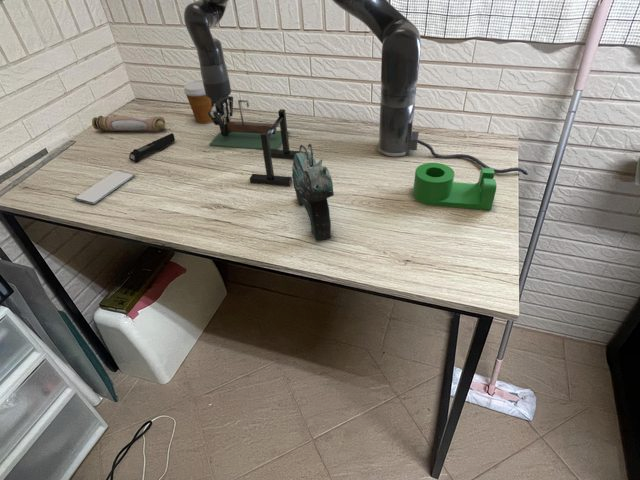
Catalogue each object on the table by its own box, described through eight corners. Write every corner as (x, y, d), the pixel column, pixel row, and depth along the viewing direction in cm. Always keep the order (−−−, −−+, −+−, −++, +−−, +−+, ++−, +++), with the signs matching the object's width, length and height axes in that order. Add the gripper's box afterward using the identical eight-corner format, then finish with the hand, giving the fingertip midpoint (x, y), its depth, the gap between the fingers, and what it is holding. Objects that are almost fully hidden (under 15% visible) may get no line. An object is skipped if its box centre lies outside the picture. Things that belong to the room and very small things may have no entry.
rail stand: (270, 153, 126) (264, 107, 117) (306, 156, 123) (302, 109, 114) (250, 183, 114) (241, 134, 105) (289, 186, 111) (284, 137, 102)
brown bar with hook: (276, 131, 130) (272, 100, 124) (274, 134, 129) (270, 102, 123) (222, 128, 134) (216, 97, 128) (220, 131, 133) (213, 100, 127)
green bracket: (412, 203, 102) (414, 180, 98) (413, 183, 109) (416, 161, 105) (490, 210, 99) (496, 186, 95) (487, 189, 106) (493, 166, 102)
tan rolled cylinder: (103, 126, 146) (97, 112, 143) (171, 127, 143) (167, 113, 140) (94, 133, 142) (88, 119, 139) (164, 134, 139) (160, 120, 136)
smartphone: (73, 198, 111) (115, 170, 121) (74, 199, 111) (116, 171, 122) (93, 203, 109) (134, 174, 119) (93, 205, 109) (135, 175, 119)
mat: (288, 133, 136) (288, 131, 135) (277, 150, 127) (276, 149, 126) (225, 128, 140) (224, 127, 140) (209, 145, 131) (209, 144, 131)
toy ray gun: (338, 242, 93) (335, 160, 80) (309, 248, 92) (302, 167, 79) (313, 194, 108) (307, 119, 95) (288, 199, 107) (279, 124, 94)
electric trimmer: (179, 143, 134) (176, 134, 132) (136, 163, 125) (132, 153, 123) (171, 140, 136) (168, 131, 134) (129, 160, 127) (125, 150, 125)
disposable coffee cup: (186, 123, 145) (176, 88, 137) (201, 112, 152) (193, 78, 144) (209, 127, 142) (201, 91, 134) (224, 115, 149) (217, 81, 141)
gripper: (217, 87, 117) (229, 144, 128) (236, 70, 127) (246, 125, 138) (192, 86, 119) (206, 143, 130) (213, 69, 129) (224, 123, 140)
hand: (226, 133), depth 134 cm, fingers closed on brown bar with hook, 2 cm apart
